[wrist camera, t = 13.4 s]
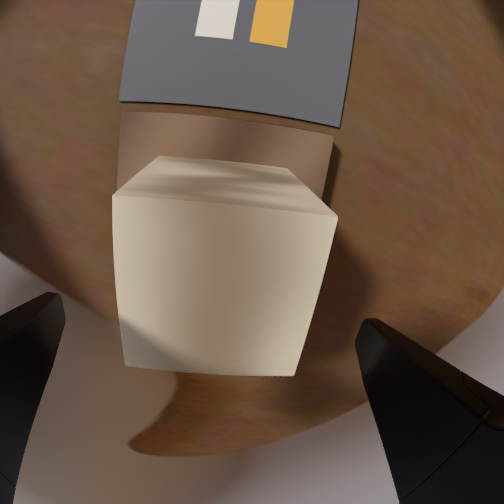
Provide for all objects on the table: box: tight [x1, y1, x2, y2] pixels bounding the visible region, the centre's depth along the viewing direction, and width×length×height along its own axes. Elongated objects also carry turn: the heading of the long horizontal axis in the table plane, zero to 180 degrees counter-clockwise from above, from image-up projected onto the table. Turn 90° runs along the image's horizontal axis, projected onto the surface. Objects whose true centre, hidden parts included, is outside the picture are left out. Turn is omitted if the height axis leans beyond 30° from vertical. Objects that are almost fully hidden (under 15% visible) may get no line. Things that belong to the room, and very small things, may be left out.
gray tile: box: [119, 0, 358, 127], centre depth 12 cm, size 11×11×1 cm
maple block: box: [112, 156, 338, 376], centre depth 12 cm, size 6×6×7 cm
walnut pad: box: [117, 111, 334, 200], centre depth 16 cm, size 10×10×1 cm
